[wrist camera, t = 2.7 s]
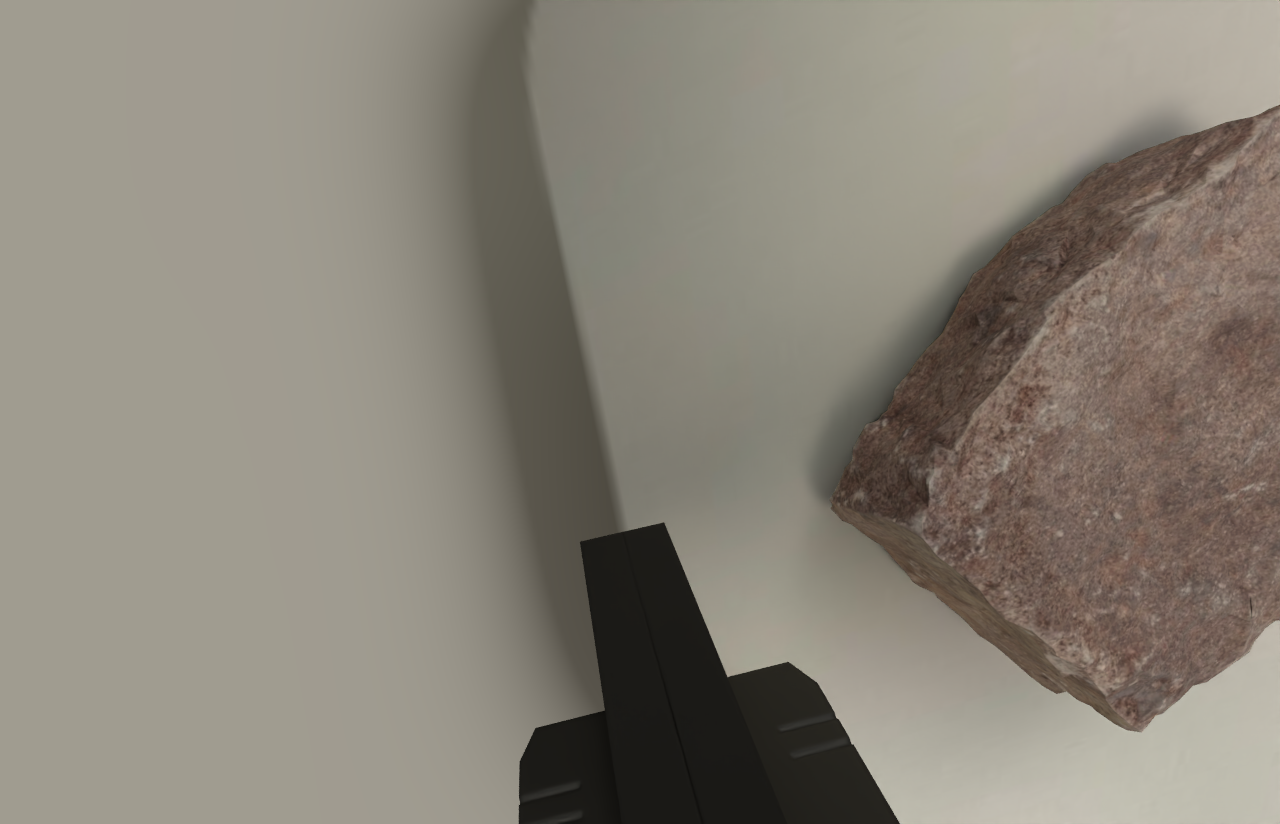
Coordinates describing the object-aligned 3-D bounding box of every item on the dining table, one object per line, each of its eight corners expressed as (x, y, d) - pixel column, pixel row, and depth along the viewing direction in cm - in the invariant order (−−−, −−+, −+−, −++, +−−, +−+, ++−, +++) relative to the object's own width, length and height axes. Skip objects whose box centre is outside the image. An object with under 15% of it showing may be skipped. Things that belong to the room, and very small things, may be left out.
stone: (1160, 54, 15) (1430, 2, 11) (1331, 327, 18) (1597, 375, 14) (776, 458, 17) (872, 561, 12) (993, 649, 19) (1134, 788, 15)
